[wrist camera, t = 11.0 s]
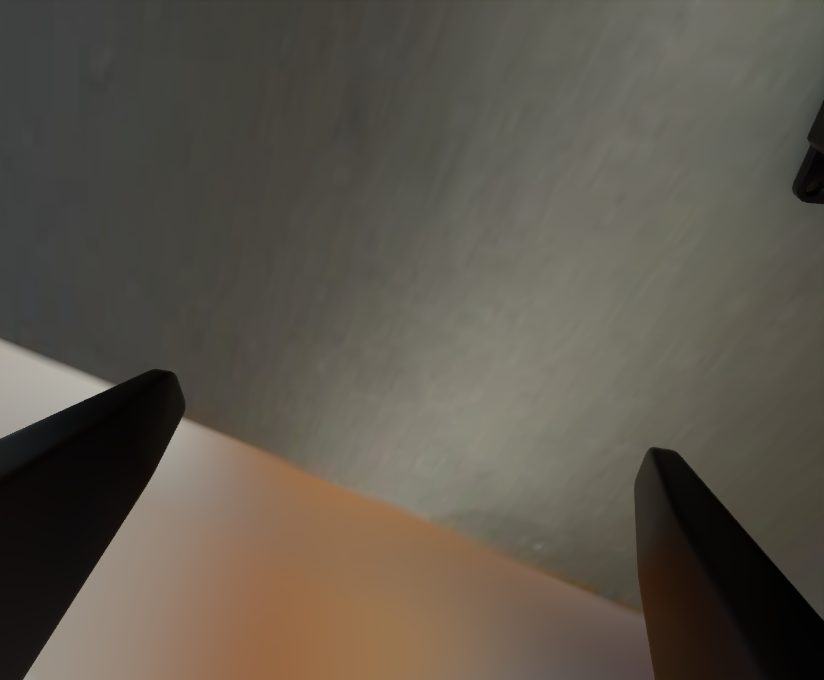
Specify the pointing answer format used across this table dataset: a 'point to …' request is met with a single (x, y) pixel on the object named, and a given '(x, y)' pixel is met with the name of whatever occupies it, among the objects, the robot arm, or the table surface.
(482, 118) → the table surface
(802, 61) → the table surface
